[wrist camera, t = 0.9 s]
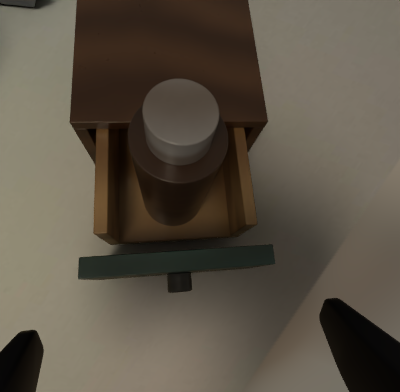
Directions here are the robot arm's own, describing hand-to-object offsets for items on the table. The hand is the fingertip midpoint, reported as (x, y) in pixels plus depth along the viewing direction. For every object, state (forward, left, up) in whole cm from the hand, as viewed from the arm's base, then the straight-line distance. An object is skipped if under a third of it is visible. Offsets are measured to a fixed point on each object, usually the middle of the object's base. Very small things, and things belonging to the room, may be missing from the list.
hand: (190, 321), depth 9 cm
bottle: (+7, -2, -12) cm, 14 cm away
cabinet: (+17, -6, -14) cm, 23 cm away
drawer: (+7, -3, -13) cm, 15 cm away
